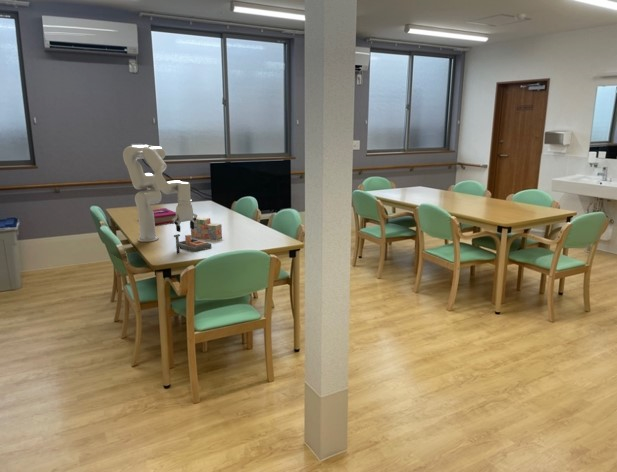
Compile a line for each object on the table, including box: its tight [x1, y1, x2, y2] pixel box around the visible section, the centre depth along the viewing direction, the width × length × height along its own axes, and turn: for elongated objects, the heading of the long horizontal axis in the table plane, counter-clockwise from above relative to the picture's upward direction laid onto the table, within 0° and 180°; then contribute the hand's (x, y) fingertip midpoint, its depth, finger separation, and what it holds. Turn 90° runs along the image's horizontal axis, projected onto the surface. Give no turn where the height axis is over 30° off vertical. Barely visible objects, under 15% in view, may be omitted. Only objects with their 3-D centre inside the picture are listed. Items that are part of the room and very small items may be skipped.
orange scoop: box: [184, 234, 207, 247], centre depth 281 cm, size 15×7×6 cm, turn 49°
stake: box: [173, 234, 181, 254], centre depth 268 cm, size 2×3×11 cm, turn 138°
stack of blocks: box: [189, 216, 223, 240], centre depth 306 cm, size 21×6×12 cm, turn 61°
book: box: [153, 207, 176, 226], centre depth 359 cm, size 21×28×8 cm
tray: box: [179, 238, 212, 252], centre depth 283 cm, size 18×13×2 cm
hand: (185, 230), depth 285 cm, fingers open, 9 cm apart
